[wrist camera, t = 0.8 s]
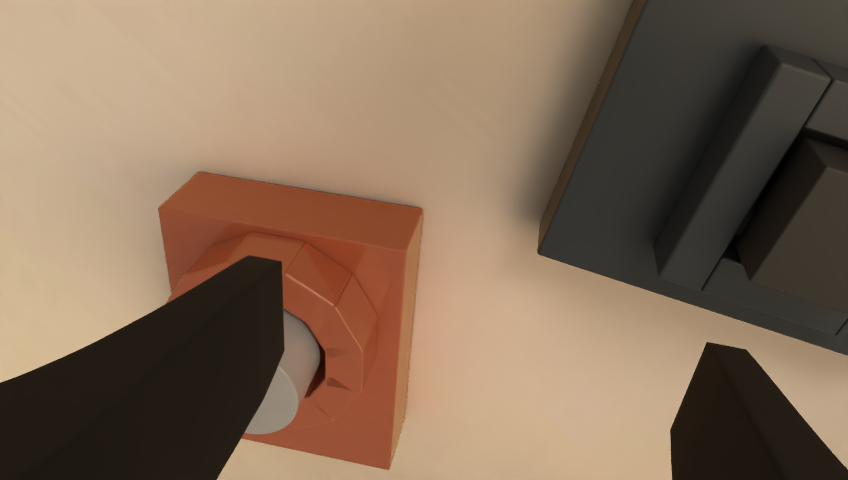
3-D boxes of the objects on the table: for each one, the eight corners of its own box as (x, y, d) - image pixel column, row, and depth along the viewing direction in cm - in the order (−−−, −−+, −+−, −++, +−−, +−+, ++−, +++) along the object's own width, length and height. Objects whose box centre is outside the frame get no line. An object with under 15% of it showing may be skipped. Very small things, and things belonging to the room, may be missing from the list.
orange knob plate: (405, 418, 27) (377, 511, 24) (222, 381, 28) (168, 465, 25) (423, 208, 22) (392, 285, 18) (198, 170, 23) (123, 236, 19)
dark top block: (853, 283, 17) (879, 325, 16) (734, 244, 17) (748, 282, 16) (936, 177, 15) (974, 213, 14) (802, 135, 15) (826, 165, 14)
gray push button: (321, 397, 22) (299, 445, 20) (217, 375, 22) (187, 421, 20) (320, 310, 20) (296, 355, 18) (207, 289, 20) (172, 331, 18)
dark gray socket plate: (898, 340, 21) (950, 422, 18) (539, 223, 21) (533, 285, 19) (1132, 77, 16) (1255, 130, 13) (662, -70, 17) (680, -49, 14)
